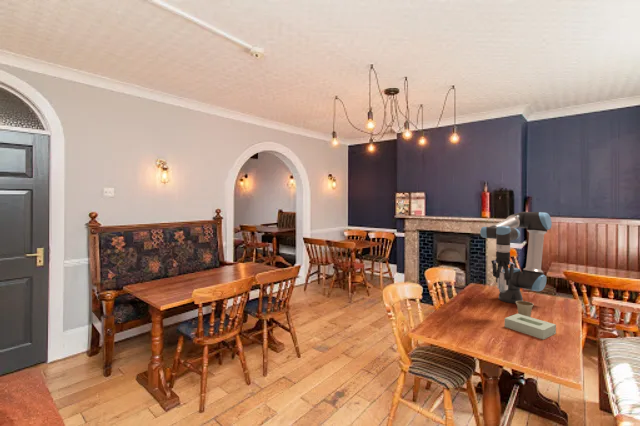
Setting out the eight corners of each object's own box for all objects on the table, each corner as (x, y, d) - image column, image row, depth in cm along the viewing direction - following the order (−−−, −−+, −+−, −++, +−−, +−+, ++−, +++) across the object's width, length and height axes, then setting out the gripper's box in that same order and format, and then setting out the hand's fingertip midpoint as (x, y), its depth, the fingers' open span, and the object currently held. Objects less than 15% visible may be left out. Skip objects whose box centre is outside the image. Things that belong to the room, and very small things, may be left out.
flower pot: (513, 316, 198) (514, 303, 198) (517, 312, 205) (517, 299, 205) (531, 320, 192) (531, 306, 192) (534, 316, 199) (534, 302, 198)
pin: (501, 290, 198) (501, 271, 198) (507, 291, 195) (507, 272, 195) (497, 291, 196) (498, 272, 196) (503, 292, 193) (504, 273, 193)
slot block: (517, 321, 191) (517, 313, 190) (555, 333, 174) (556, 324, 173) (504, 326, 183) (504, 318, 183) (543, 339, 166) (543, 330, 166)
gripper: (486, 250, 200) (486, 287, 201) (513, 253, 186) (513, 293, 187) (493, 249, 204) (492, 285, 205) (520, 252, 190) (520, 291, 191)
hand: (502, 289), depth 196 cm, fingers closed on pin, 3 cm apart
